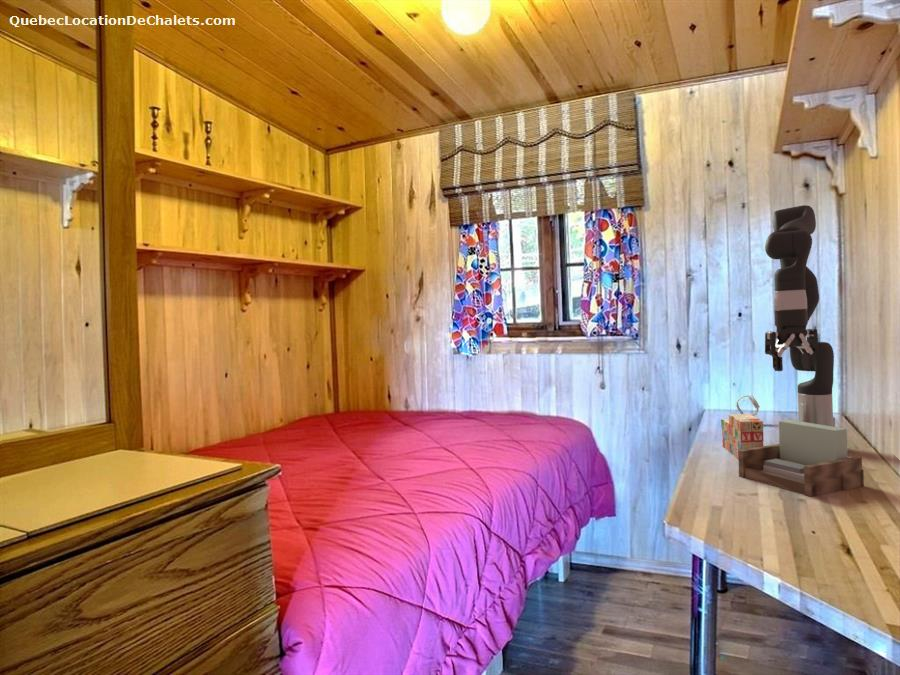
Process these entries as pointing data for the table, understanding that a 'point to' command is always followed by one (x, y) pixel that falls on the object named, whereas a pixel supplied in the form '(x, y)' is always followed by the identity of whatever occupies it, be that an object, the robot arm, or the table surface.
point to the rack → (815, 476)
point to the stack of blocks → (741, 432)
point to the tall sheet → (811, 442)
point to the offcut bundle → (784, 468)
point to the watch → (752, 403)
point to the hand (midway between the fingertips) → (792, 369)
